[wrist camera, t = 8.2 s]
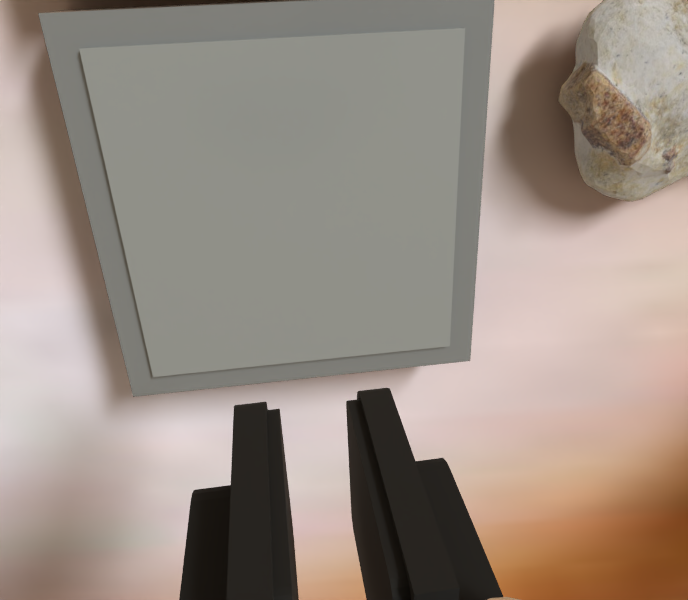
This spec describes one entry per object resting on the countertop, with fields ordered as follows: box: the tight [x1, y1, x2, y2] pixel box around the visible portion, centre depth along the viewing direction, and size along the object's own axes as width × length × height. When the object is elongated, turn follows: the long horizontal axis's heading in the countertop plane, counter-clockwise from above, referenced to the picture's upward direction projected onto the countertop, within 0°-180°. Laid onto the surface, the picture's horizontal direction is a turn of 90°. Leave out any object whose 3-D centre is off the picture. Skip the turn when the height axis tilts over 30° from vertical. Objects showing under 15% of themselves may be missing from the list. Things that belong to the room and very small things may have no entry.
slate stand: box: [38, 0, 494, 397], centre depth 23 cm, size 14×14×3 cm
